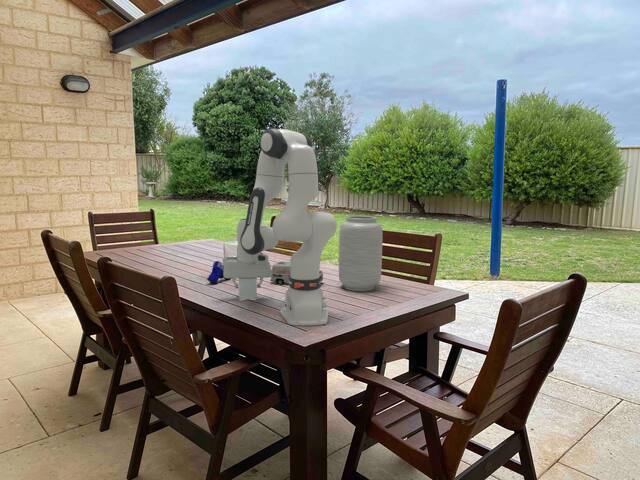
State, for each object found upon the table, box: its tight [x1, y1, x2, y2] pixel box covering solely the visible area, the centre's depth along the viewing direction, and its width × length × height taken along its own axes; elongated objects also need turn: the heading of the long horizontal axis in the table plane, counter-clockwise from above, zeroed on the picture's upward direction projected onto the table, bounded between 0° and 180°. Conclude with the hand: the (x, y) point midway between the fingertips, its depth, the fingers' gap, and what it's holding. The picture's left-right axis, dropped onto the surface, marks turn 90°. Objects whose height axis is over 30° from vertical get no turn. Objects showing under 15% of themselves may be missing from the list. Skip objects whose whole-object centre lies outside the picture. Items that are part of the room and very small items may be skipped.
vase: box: [338, 215, 383, 292], centre depth 217 cm, size 20×20×34 cm
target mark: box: [239, 298, 258, 302], centre depth 198 cm, size 9×9×1 cm
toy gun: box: [206, 260, 232, 285], centre depth 227 cm, size 4×13×10 cm
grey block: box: [238, 278, 258, 300], centre depth 200 cm, size 7×7×9 cm
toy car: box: [269, 261, 324, 286], centre depth 226 cm, size 11×25×10 cm, turn 78°
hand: (247, 287), depth 197 cm, fingers open, 8 cm apart
